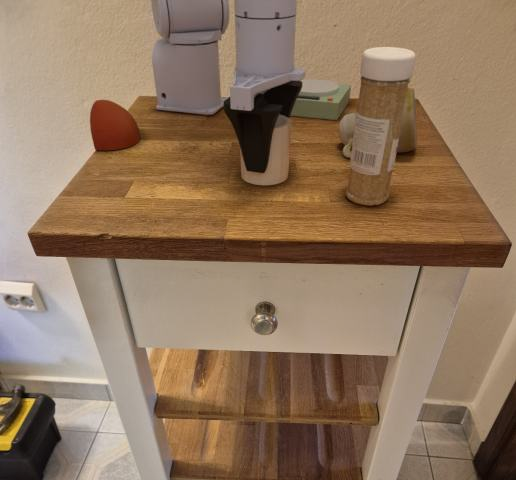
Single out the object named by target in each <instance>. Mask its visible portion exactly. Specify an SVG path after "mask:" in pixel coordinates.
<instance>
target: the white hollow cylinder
mask: <svg viewBox="0 0 516 480" xmlns="http://www.w3.org/2000/svg"><path fill="white" fill-rule="evenodd" d="M290 146H291V118H290V119H289V118H288V117H286V116H284V115H280V114H279V116H278V118H277V121H276V124H275V127H274V131H273V135H272V140H271V147H270V155H269V161H268V166H267V169H266V171H265V173H258V172H250V171H247V170H246V167H245V164H244V160H243V156H242V152H241V148H240V147H239V152H240V154H239V155H240V177H241V180H243V181H244V182H246V183H248V184H251V185H255V186H274V185H279V184H281V183H283V182H285V181H286V180H287V179H288V178H289V172H290Z"/></svg>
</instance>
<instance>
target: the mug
mask: <svg viewBox="0 0 516 480" xmlns="http://www.w3.org/2000/svg"><path fill="white" fill-rule="evenodd" d="M415 94H416V93H415V88H414V87H408V88H407V93H406V99H405V105H404V110H403V115H402V120H401V129H400V134H399V141H398V146H397V152H396V154H397V153H399V154H401V153H402V154H403V153H407V152H410V151H413V150H416V149H417V148H418V125H417V124H418V123H417V121H418V120H417V106H416V96H415ZM356 112H357V111H356ZM356 112H351V113H347V114H345V115H344V116H343V117H342V118H341V119H340V121H339V124H338V136H339V139H340V141H341V143H342V145H344V146H343V148H342V155H343V156H344V157H345V158H347V159H351V150H352V144H353V135H354V128H355V120H356Z"/></svg>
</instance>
